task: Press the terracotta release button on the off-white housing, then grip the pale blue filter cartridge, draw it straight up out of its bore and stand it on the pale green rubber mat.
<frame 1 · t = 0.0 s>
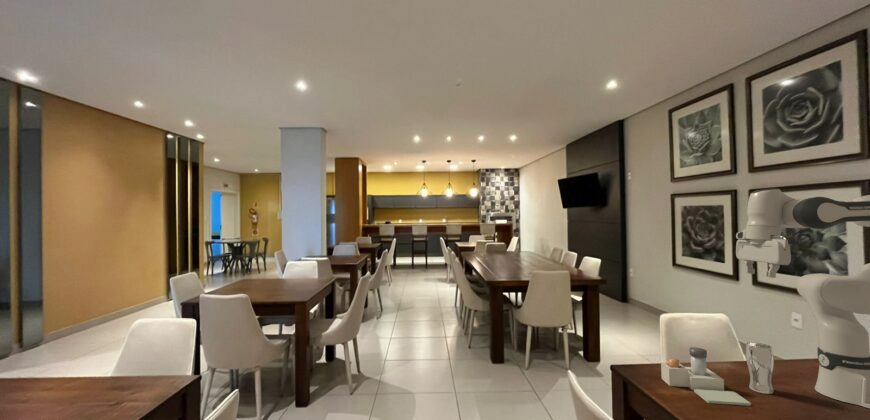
hand: (760, 275, 122), 39 cm above the table, tool pointing down, fingers open, 8 cm apart
release button: (674, 365, 128), point 6 cm above the table, slide at 0.0 cm
mat: (721, 398, 116), on the table
beer glass: (761, 390, 121), on the table
cartridge: (699, 384, 126), resting in housing
housing: (699, 384, 126), on the table
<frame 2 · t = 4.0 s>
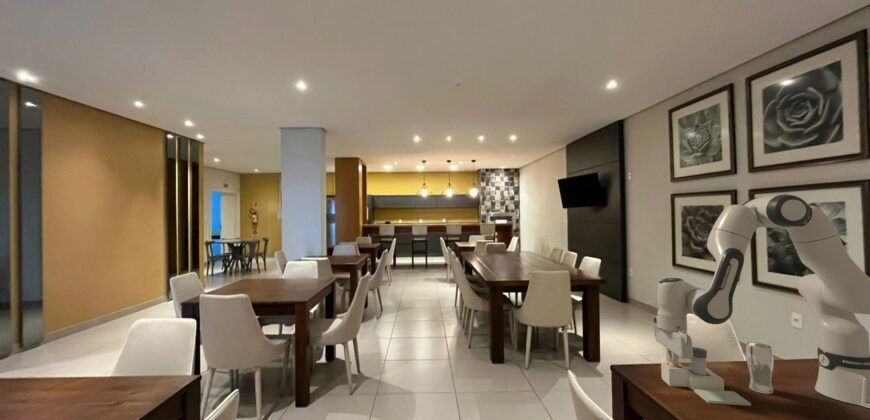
hand: (673, 362, 128), 7 cm above the table, tool pointing down, fingers closed, pressing on release button
release button: (674, 368, 128), point 5 cm above the table, slide at 1.0 cm, touching gripper
everything else where it was.
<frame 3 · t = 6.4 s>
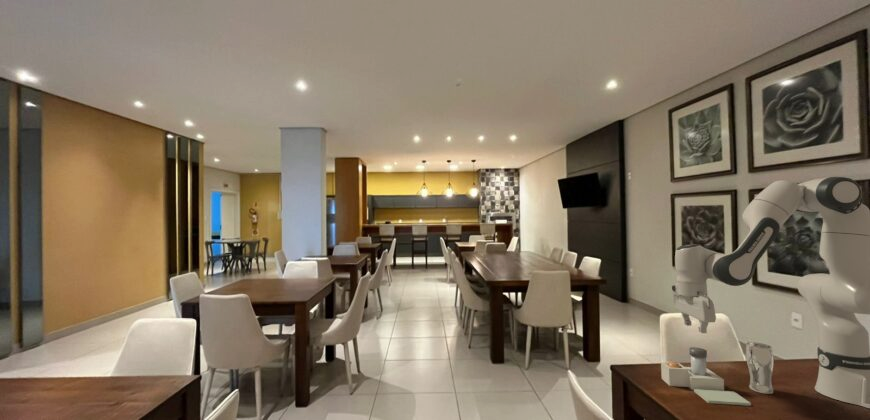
hand: (695, 328, 127), 19 cm above the table, tool pointing down, fingers open, 8 cm apart
release button: (674, 369, 128), point 5 cm above the table, slide at 1.2 cm
everything else where it was.
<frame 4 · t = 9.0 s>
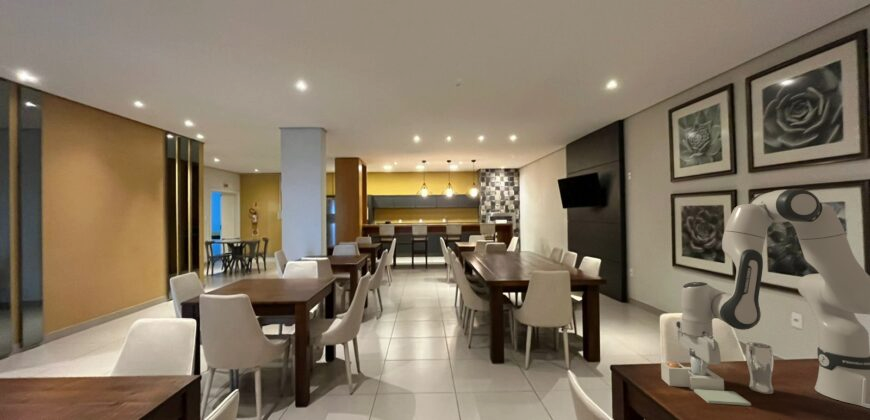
hand: (698, 367, 126), 6 cm above the table, tool pointing down, fingers closed on cartridge, 4 cm apart
cartridge: (699, 384, 126), resting in housing, touching gripper
everything else where it was.
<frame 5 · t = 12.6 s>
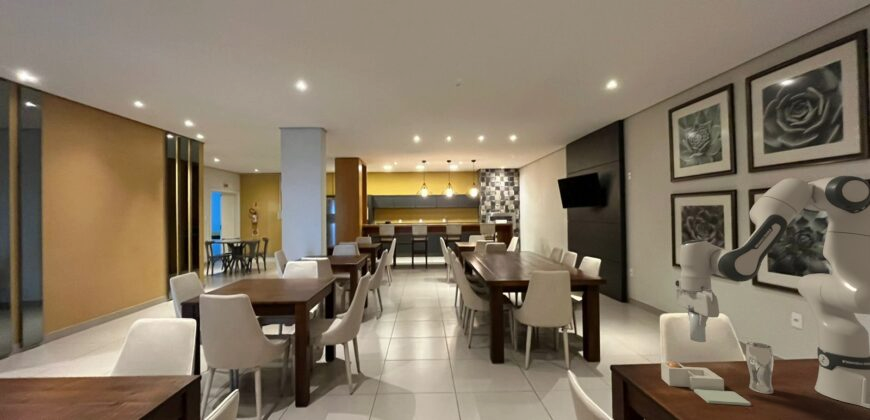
hand: (697, 324, 127), 21 cm above the table, tool pointing down, fingers closed on cartridge, 4 cm apart
cartridge: (698, 340, 127), point 15 cm above the table, touching gripper
everything else where it was.
when the fingers open (8 cm above the table, at t = 16.1 s): cartridge drops 2 cm, resting on mat.
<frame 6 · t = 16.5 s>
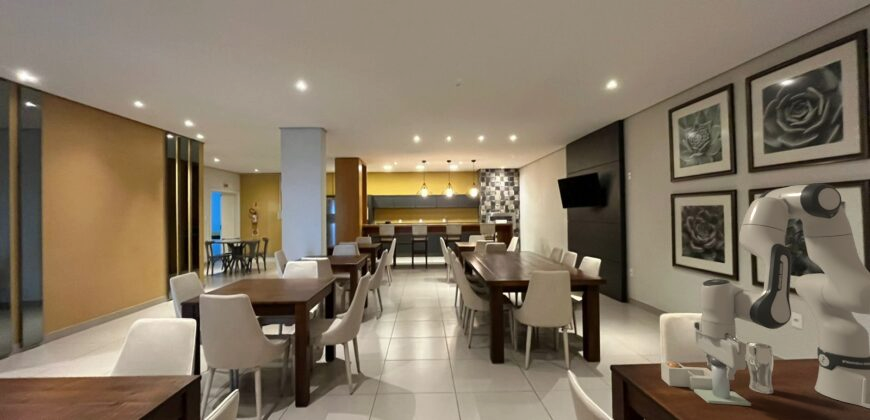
hand: (720, 372, 116), 8 cm above the table, tool pointing down, fingers open, 8 cm apart
cartridge: (721, 395, 116), point 1 cm above the table, touching mat
everything else where it was.
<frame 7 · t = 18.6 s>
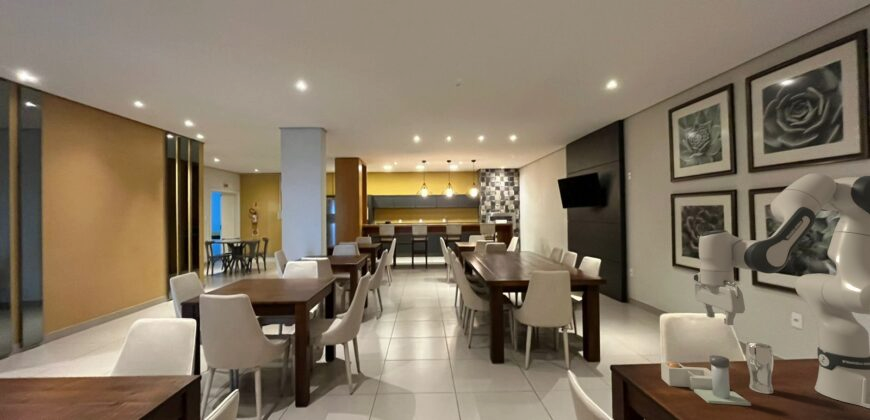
hand: (719, 320, 118), 24 cm above the table, tool pointing down, fingers open, 8 cm apart
nothing on the table moved.
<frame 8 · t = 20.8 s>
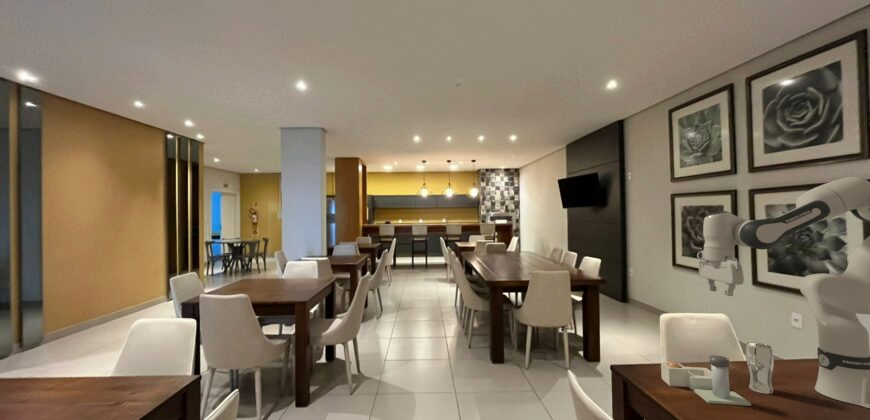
hand: (720, 293, 131), 31 cm above the table, tool pointing down, fingers open, 8 cm apart
nothing on the table moved.
at the end: release button slide at 1.2 cm; cartridge 0.0 cm off-centre on the mat, point 0.8 cm above the mat's base; cartridge tilted 1° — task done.
